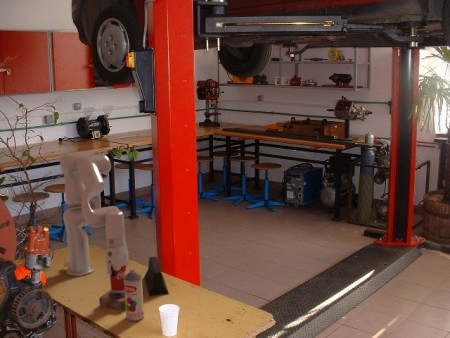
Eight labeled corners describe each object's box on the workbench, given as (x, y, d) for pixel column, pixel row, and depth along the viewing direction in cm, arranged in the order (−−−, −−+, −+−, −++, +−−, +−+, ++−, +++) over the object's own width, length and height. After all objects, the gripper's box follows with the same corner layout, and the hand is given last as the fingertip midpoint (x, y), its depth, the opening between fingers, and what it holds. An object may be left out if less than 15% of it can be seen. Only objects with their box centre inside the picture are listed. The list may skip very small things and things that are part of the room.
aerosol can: (123, 320, 214) (119, 271, 210) (132, 313, 220) (129, 265, 216) (138, 323, 212) (135, 273, 208) (147, 315, 218) (144, 267, 214)
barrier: (144, 276, 258) (142, 256, 256) (162, 274, 260) (161, 254, 258) (148, 297, 236) (147, 274, 234) (169, 294, 237) (168, 272, 236)
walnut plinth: (99, 307, 226) (99, 297, 226) (115, 295, 237) (115, 285, 237) (125, 311, 222) (124, 300, 221) (140, 299, 233) (139, 289, 232)
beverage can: (123, 293, 225) (121, 265, 222) (108, 293, 226) (106, 265, 223) (128, 287, 231) (126, 260, 228) (114, 287, 232) (112, 259, 229)
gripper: (112, 248, 216) (115, 292, 219) (134, 235, 231) (137, 277, 235) (96, 246, 218) (99, 290, 222) (119, 234, 234) (122, 275, 237)
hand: (118, 283), depth 228 cm, fingers closed on beverage can, 4 cm apart
